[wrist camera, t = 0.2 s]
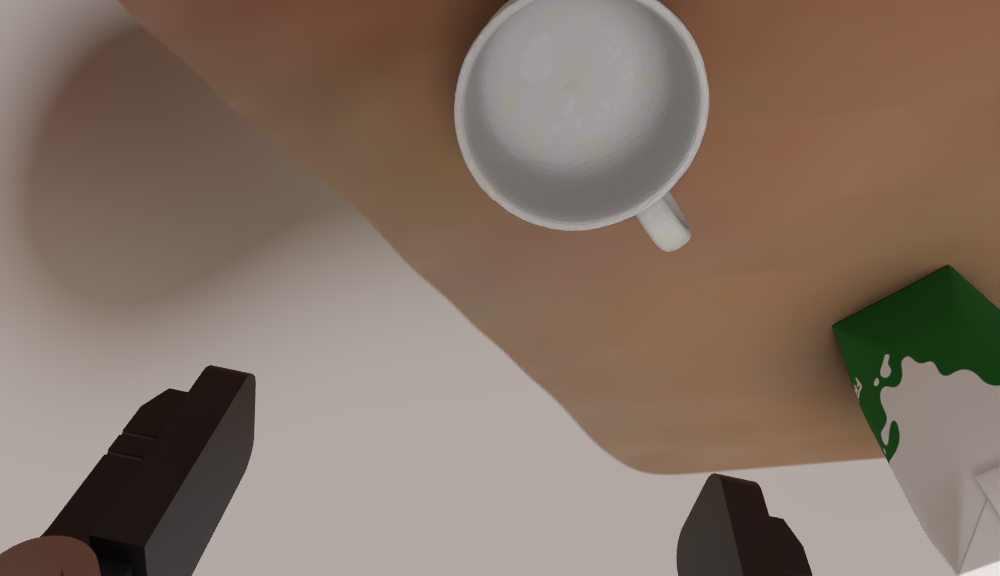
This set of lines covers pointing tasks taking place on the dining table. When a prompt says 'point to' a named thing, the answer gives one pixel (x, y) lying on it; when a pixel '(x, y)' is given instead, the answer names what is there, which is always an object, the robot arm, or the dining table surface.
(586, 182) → the teacup
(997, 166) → the dining table surface
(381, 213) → the dining table surface
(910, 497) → the milk carton
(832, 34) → the dining table surface
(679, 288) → the dining table surface
